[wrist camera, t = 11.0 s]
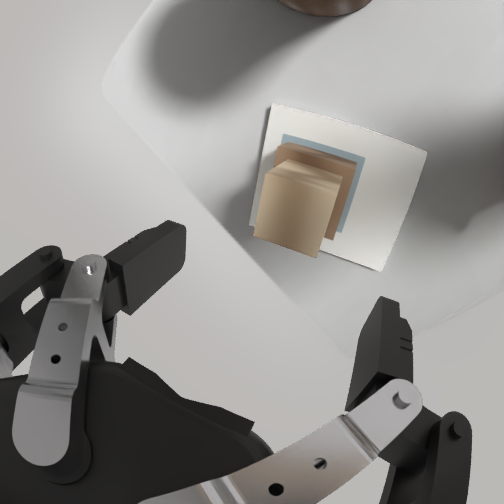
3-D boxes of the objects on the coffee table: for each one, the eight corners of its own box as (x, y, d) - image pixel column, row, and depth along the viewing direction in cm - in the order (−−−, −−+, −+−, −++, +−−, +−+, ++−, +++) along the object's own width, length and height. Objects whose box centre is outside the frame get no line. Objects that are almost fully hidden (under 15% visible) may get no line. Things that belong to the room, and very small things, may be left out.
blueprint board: (425, 151, 23) (428, 152, 22) (380, 267, 30) (381, 272, 30) (274, 103, 27) (271, 103, 26) (251, 222, 34) (248, 225, 33)
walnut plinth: (356, 162, 25) (355, 169, 22) (337, 224, 29) (332, 240, 26) (289, 141, 27) (277, 146, 24) (275, 204, 31) (262, 216, 27)
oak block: (343, 176, 23) (336, 195, 18) (327, 227, 26) (315, 258, 21) (287, 159, 24) (265, 173, 19) (276, 209, 27) (252, 235, 22)
